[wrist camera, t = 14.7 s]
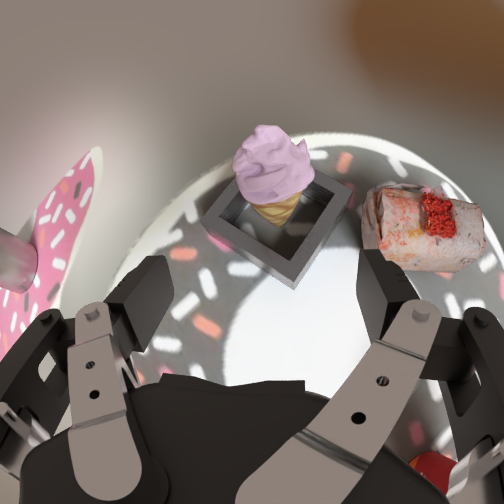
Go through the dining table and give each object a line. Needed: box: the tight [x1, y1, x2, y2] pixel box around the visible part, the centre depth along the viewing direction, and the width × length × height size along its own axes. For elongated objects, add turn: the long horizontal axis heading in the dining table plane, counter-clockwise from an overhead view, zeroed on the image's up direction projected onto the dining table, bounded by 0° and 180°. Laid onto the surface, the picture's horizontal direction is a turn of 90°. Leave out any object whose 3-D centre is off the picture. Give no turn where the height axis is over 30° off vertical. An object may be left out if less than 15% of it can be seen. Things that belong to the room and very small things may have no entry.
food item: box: [361, 183, 486, 273], centre depth 25 cm, size 14×8×10 cm, turn 83°
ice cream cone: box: [232, 125, 315, 227], centre depth 26 cm, size 7×6×15 cm
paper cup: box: [409, 452, 457, 495], centre depth 14 cm, size 8×8×14 cm
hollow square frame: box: [200, 169, 353, 290], centre depth 31 cm, size 12×12×4 cm
